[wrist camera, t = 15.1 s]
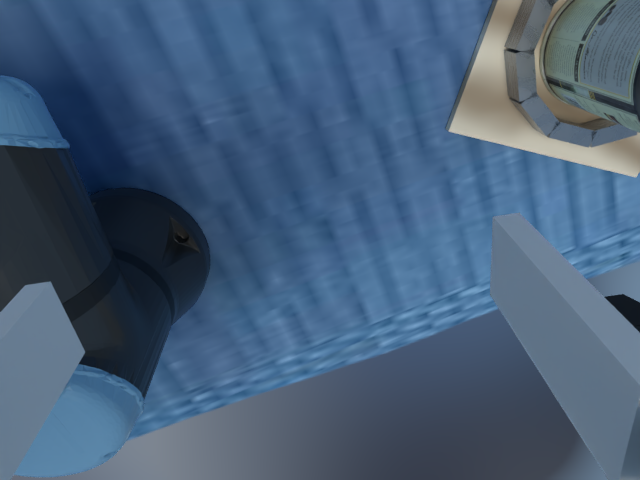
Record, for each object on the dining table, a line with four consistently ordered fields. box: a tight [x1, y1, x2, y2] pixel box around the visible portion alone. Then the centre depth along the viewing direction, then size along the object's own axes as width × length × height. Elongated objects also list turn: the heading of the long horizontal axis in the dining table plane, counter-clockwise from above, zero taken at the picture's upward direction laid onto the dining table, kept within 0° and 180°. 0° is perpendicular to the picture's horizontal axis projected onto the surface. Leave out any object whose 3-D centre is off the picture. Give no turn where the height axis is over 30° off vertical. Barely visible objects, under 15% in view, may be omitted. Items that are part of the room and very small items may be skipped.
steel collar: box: [504, 0, 639, 148], centre depth 39 cm, size 16×16×2 cm
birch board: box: [446, 0, 640, 177], centre depth 41 cm, size 20×20×1 cm
